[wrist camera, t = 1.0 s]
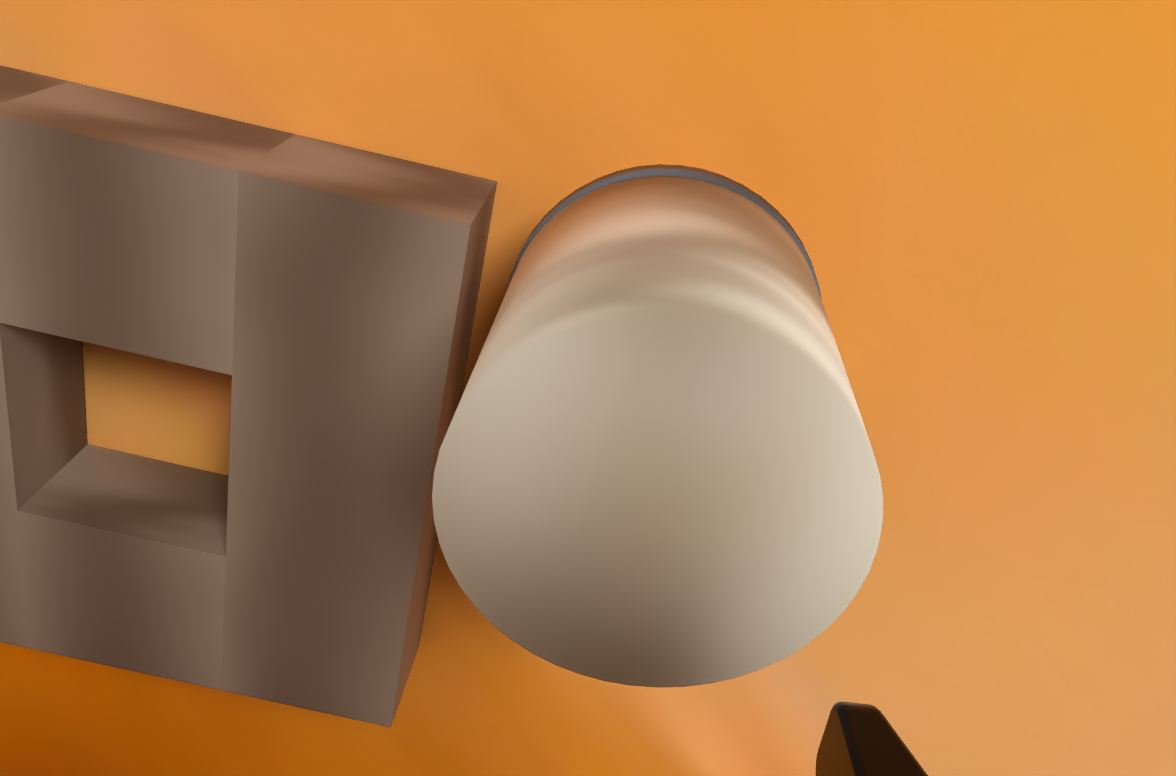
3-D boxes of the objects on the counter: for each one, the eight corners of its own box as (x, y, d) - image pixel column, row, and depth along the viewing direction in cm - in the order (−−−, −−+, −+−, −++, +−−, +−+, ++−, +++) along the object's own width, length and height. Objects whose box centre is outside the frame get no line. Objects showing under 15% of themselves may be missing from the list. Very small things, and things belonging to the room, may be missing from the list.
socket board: (497, 181, 21) (470, 225, 18) (418, 646, 27) (390, 727, 25) (-138, 33, 20) (-260, 55, 18) (-62, 540, 27) (-142, 611, 24)
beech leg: (839, 164, 20) (962, 377, 11) (755, 409, 23) (801, 727, 14) (557, 97, 20) (463, 261, 11) (508, 352, 23) (403, 639, 14)
